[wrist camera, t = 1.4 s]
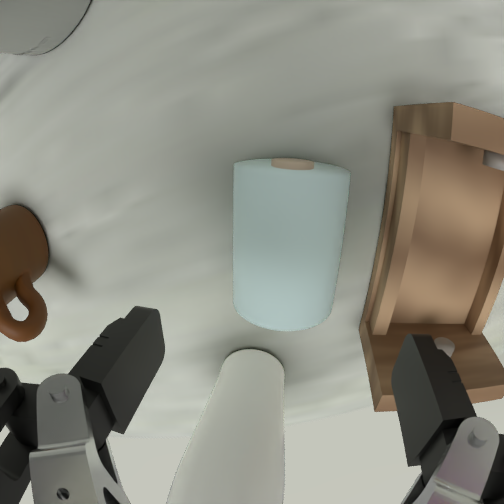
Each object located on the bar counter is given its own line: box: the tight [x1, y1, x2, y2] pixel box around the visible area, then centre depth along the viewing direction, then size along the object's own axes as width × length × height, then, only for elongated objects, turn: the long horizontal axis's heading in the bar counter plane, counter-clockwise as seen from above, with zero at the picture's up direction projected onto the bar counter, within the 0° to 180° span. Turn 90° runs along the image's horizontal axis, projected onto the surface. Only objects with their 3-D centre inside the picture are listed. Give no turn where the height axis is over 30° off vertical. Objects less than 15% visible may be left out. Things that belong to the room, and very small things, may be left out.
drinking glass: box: [166, 349, 285, 504], centre depth 19 cm, size 7×7×15 cm
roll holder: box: [359, 102, 504, 412], centre depth 15 cm, size 16×10×8 cm, turn 179°
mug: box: [0, 205, 48, 342], centre depth 20 cm, size 12×8×9 cm, turn 60°
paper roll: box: [233, 158, 351, 331], centre depth 17 cm, size 9×6×6 cm
